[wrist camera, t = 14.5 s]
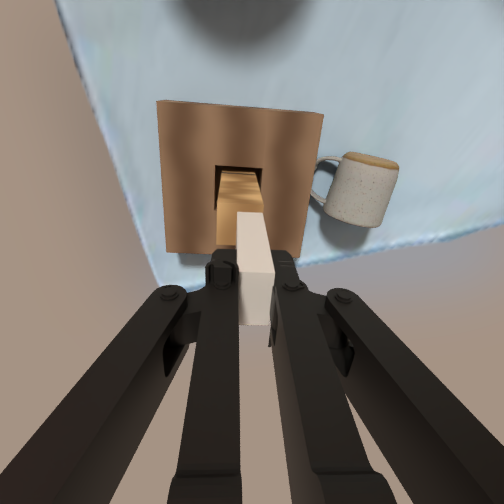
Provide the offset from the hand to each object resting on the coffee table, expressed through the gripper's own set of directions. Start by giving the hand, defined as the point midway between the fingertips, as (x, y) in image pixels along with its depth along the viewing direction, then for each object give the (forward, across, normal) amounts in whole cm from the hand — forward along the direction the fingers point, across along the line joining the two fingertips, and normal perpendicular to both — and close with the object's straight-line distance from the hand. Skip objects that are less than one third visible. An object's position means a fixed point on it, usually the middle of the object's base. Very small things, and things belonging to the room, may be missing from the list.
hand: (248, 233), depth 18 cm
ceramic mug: (+25, +14, -3) cm, 28 cm away
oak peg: (+23, 0, -3) cm, 23 cm away
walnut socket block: (+24, -1, -3) cm, 24 cm away
